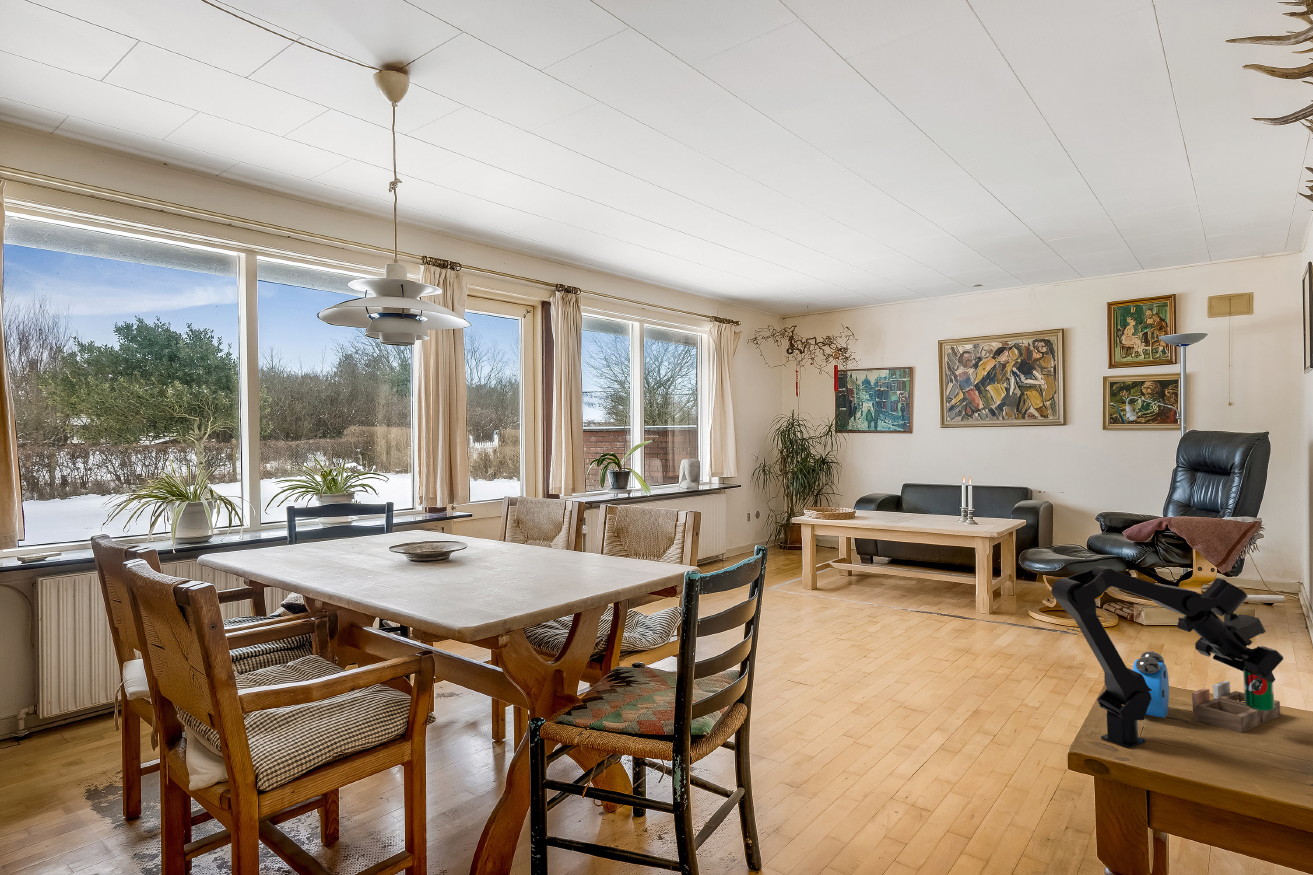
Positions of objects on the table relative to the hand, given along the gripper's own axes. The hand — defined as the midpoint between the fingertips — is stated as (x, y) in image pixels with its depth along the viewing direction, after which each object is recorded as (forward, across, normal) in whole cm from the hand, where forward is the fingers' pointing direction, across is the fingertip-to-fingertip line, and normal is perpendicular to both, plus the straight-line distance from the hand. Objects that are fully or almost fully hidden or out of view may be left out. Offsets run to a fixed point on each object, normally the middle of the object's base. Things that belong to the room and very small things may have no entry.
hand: (1263, 677), depth 160 cm
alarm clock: (-2, +14, +21) cm, 25 cm away
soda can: (+4, 0, +6) cm, 7 cm away
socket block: (+11, +11, +8) cm, 17 cm away
